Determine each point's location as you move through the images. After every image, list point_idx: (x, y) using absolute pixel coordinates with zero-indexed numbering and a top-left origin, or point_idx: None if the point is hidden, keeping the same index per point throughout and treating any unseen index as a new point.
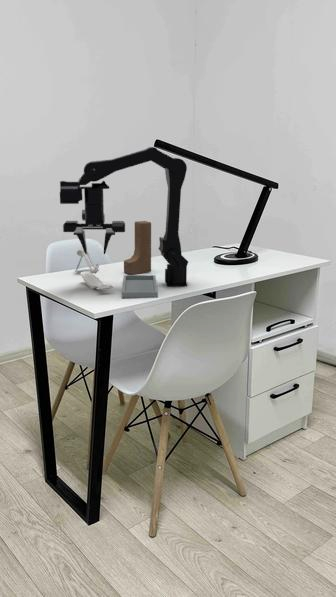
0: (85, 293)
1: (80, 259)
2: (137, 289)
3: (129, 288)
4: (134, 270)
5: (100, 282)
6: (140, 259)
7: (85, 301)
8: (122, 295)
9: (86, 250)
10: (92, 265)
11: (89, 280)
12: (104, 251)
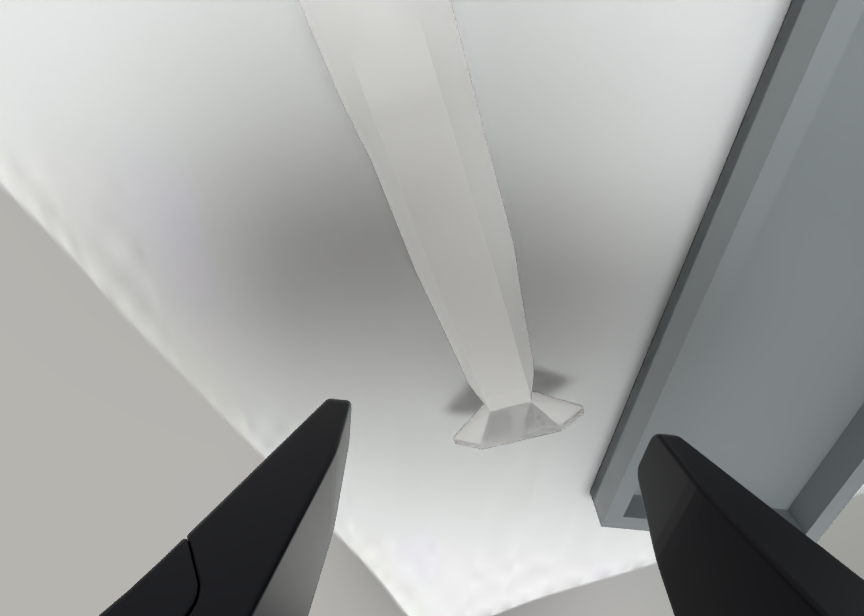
0: (378, 360)
1: None
2: (761, 369)
3: (716, 337)
4: None
5: (499, 354)
6: None
7: (381, 503)
8: (599, 510)
9: (336, 510)
10: None
11: (409, 238)
12: (661, 529)
